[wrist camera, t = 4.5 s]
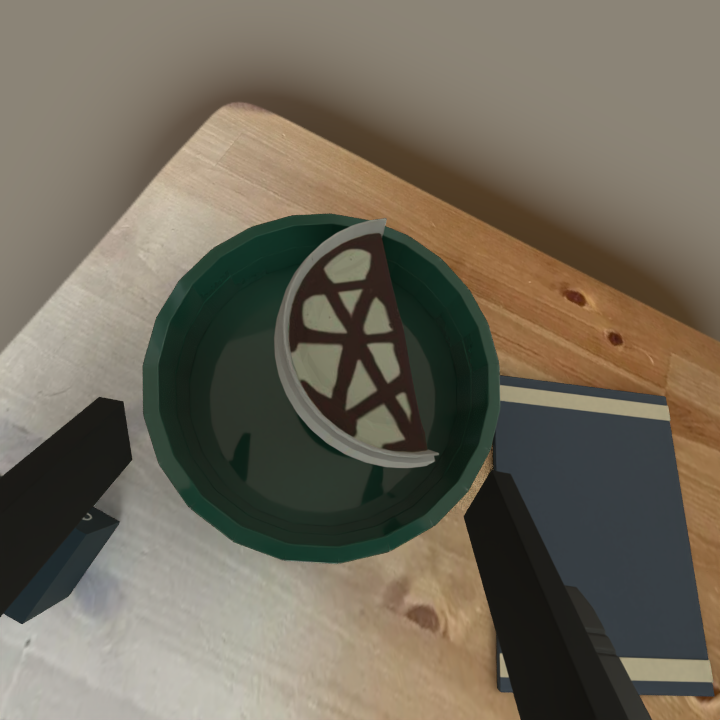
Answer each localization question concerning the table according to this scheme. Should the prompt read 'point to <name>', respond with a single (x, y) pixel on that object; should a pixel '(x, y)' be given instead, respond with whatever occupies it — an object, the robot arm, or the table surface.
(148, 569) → the table surface
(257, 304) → the green round shallow dish
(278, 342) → the food container
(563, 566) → the towel
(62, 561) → the watch
